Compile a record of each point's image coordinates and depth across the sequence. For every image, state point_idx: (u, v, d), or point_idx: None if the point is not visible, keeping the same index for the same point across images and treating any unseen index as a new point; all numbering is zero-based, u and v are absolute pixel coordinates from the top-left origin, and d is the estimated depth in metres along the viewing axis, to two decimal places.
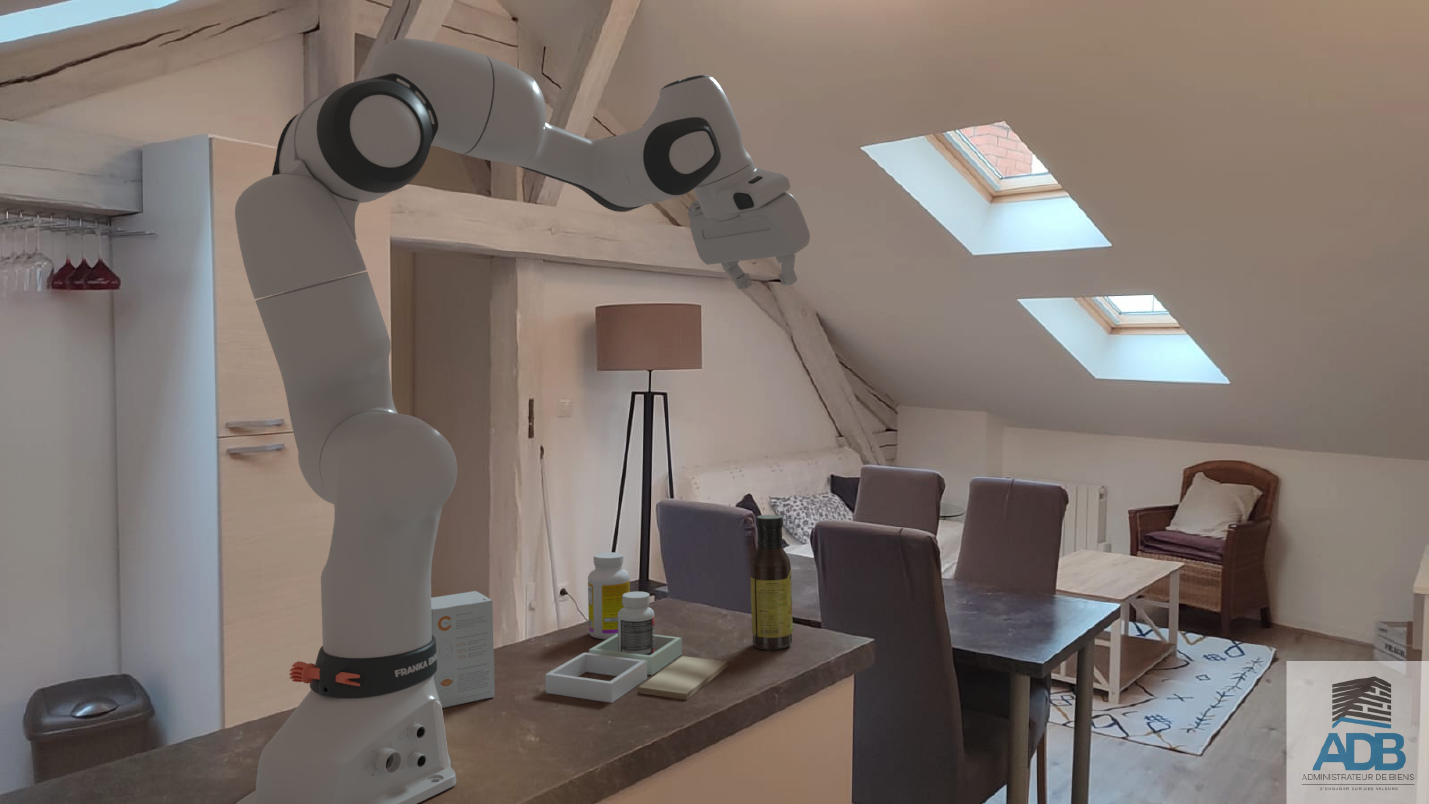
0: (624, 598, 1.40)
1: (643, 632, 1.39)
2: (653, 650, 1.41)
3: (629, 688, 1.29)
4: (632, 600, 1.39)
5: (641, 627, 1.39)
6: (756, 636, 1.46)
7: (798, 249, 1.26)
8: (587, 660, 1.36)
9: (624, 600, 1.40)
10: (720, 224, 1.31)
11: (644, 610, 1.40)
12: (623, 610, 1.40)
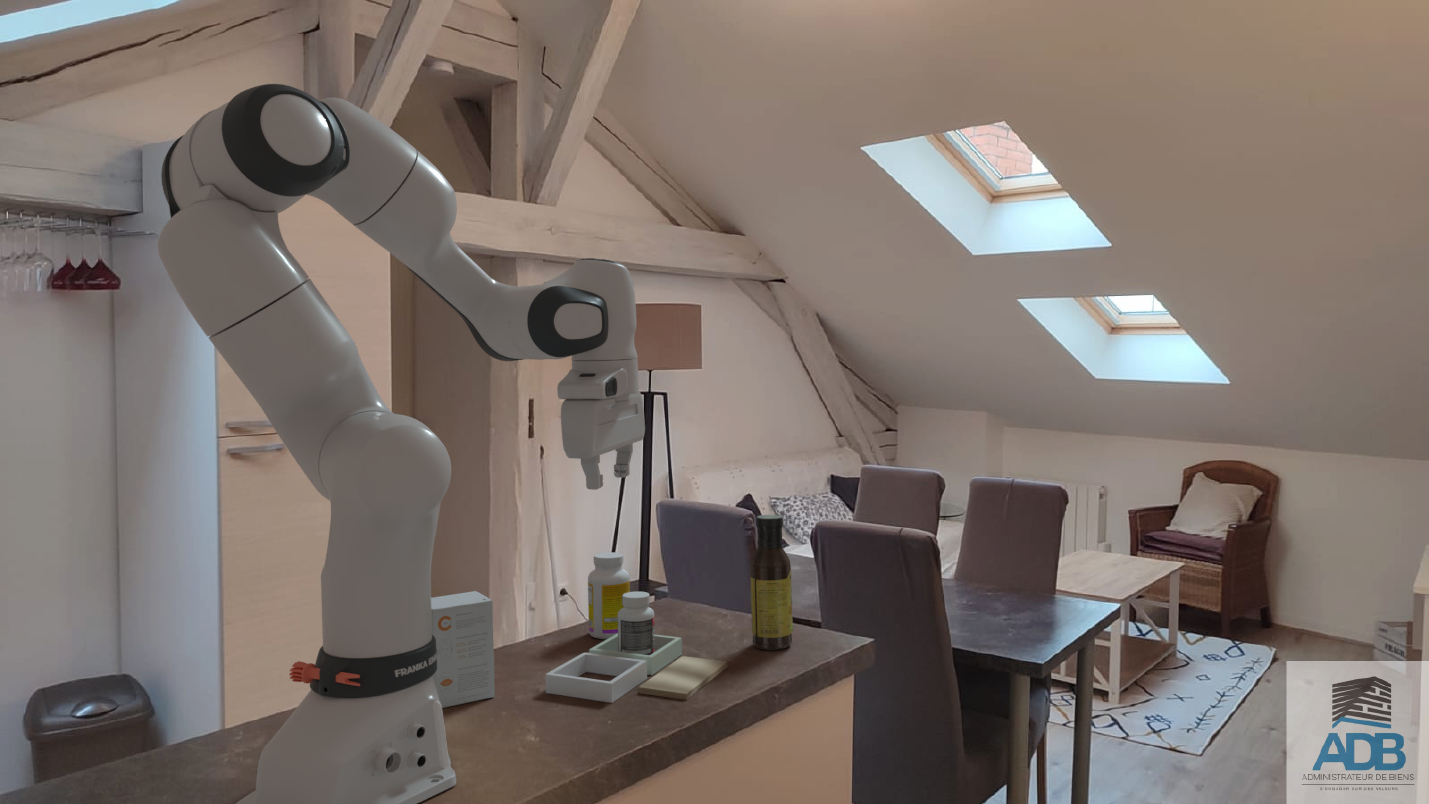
0: (624, 598, 1.40)
1: (643, 632, 1.39)
2: (653, 650, 1.41)
3: (629, 688, 1.29)
4: (632, 600, 1.39)
5: (641, 627, 1.39)
6: (756, 636, 1.46)
7: (571, 455, 1.22)
8: (587, 660, 1.36)
9: (624, 600, 1.40)
10: None
11: (644, 610, 1.40)
12: (623, 610, 1.40)
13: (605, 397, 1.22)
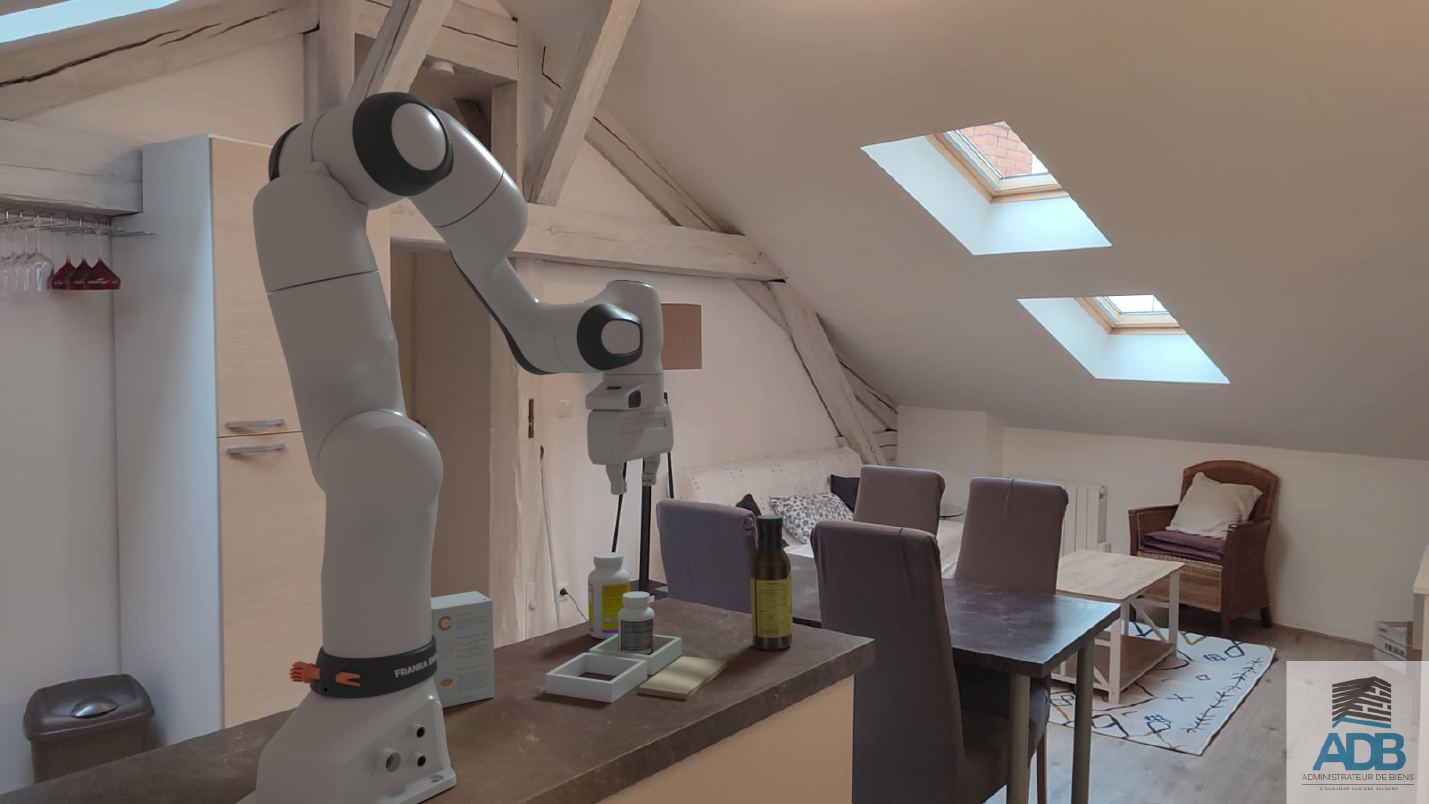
0: (624, 598, 1.40)
1: (643, 632, 1.39)
2: (653, 650, 1.41)
3: (629, 688, 1.29)
4: (632, 600, 1.39)
5: (641, 627, 1.39)
6: (756, 636, 1.46)
7: (595, 462, 1.31)
8: (587, 660, 1.36)
9: (624, 600, 1.40)
10: None
11: (644, 610, 1.40)
12: (623, 610, 1.40)
13: (628, 408, 1.31)
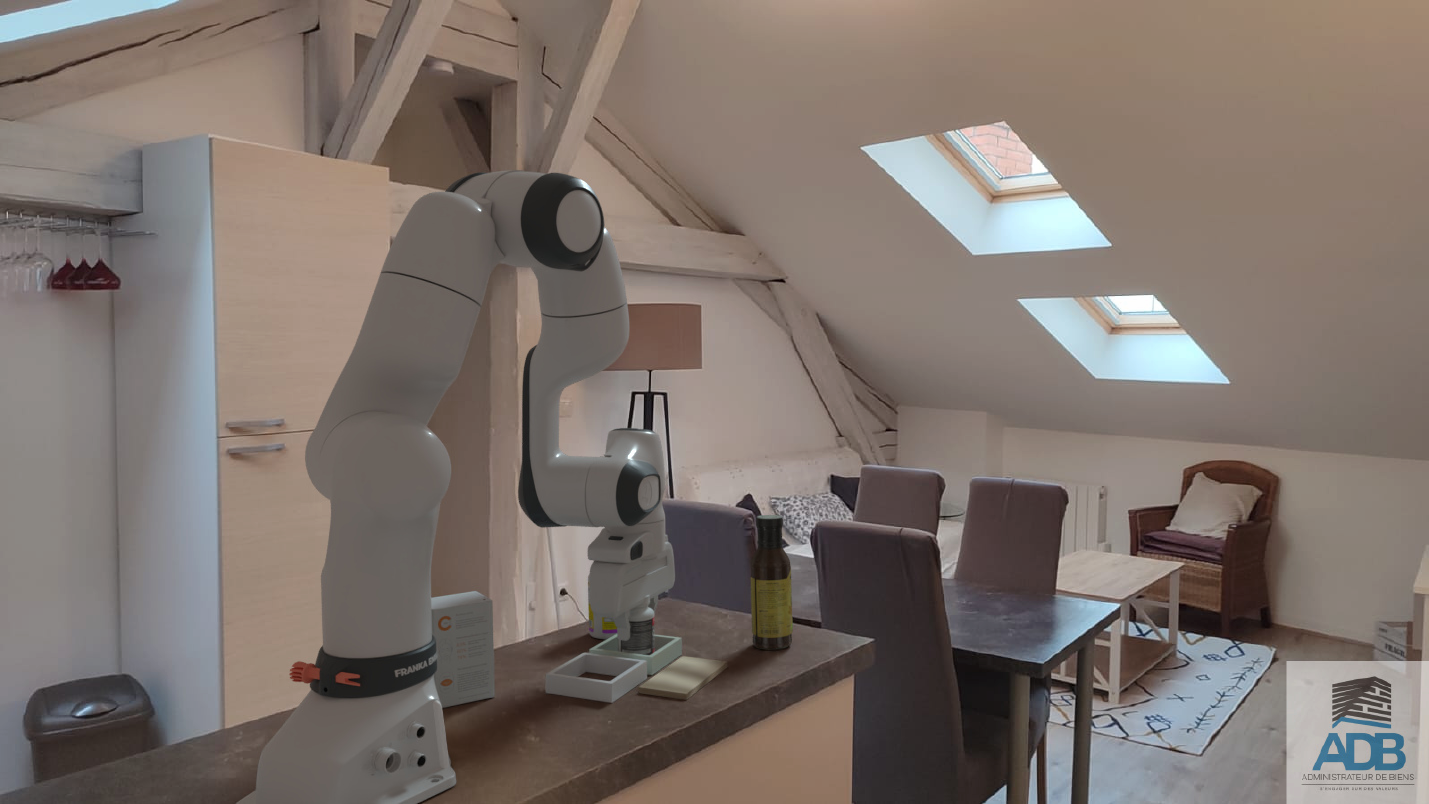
0: None
1: (643, 632, 1.39)
2: (653, 650, 1.41)
3: (629, 688, 1.29)
4: None
5: (641, 627, 1.39)
6: (756, 636, 1.46)
7: (597, 614, 1.32)
8: (587, 660, 1.36)
9: None
10: None
11: (644, 610, 1.40)
12: None
13: (630, 561, 1.32)
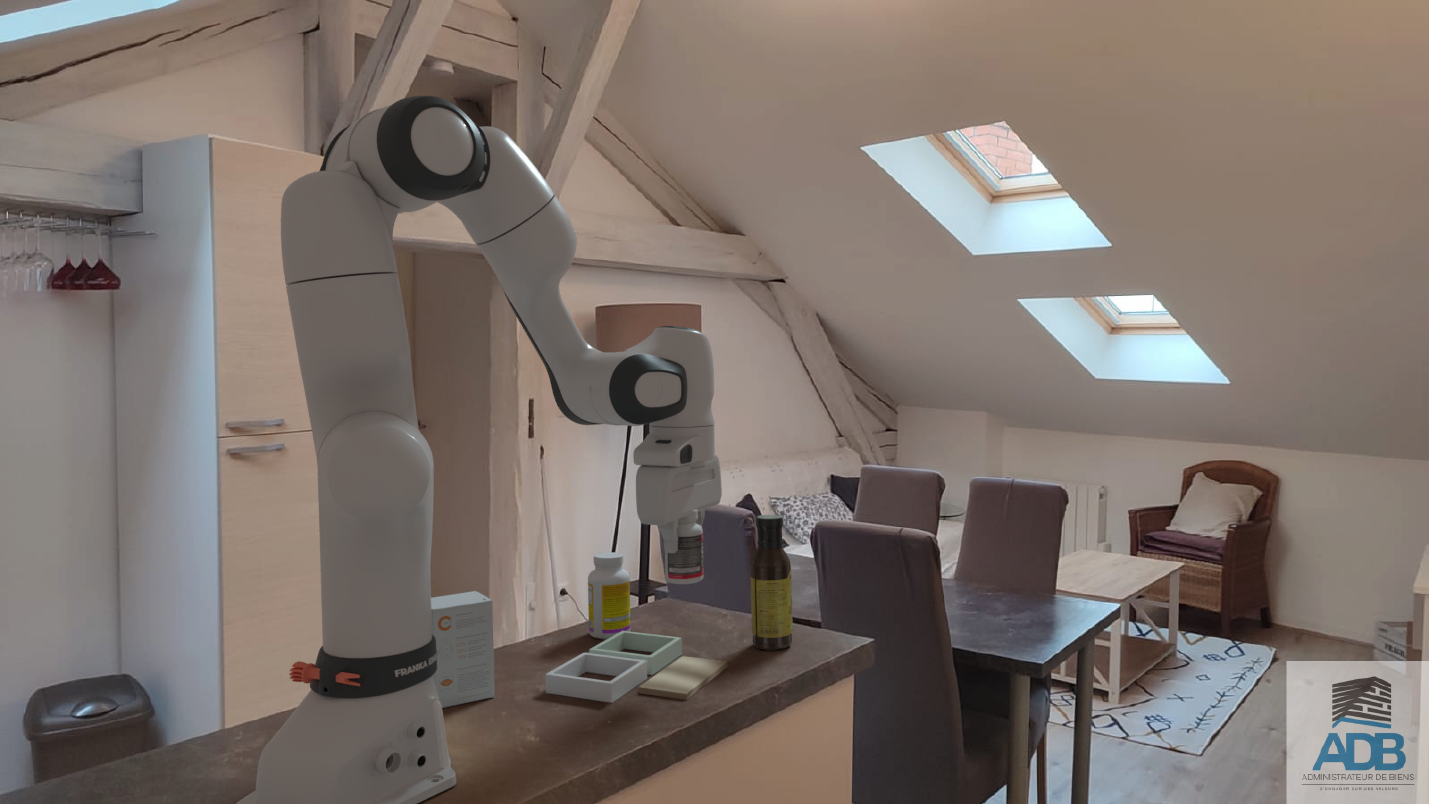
0: None
1: (692, 548, 1.30)
2: (702, 568, 1.31)
3: (629, 688, 1.29)
4: None
5: (690, 543, 1.29)
6: (756, 636, 1.46)
7: (645, 521, 1.23)
8: (587, 660, 1.36)
9: None
10: None
11: (692, 525, 1.31)
12: None
13: (679, 464, 1.23)
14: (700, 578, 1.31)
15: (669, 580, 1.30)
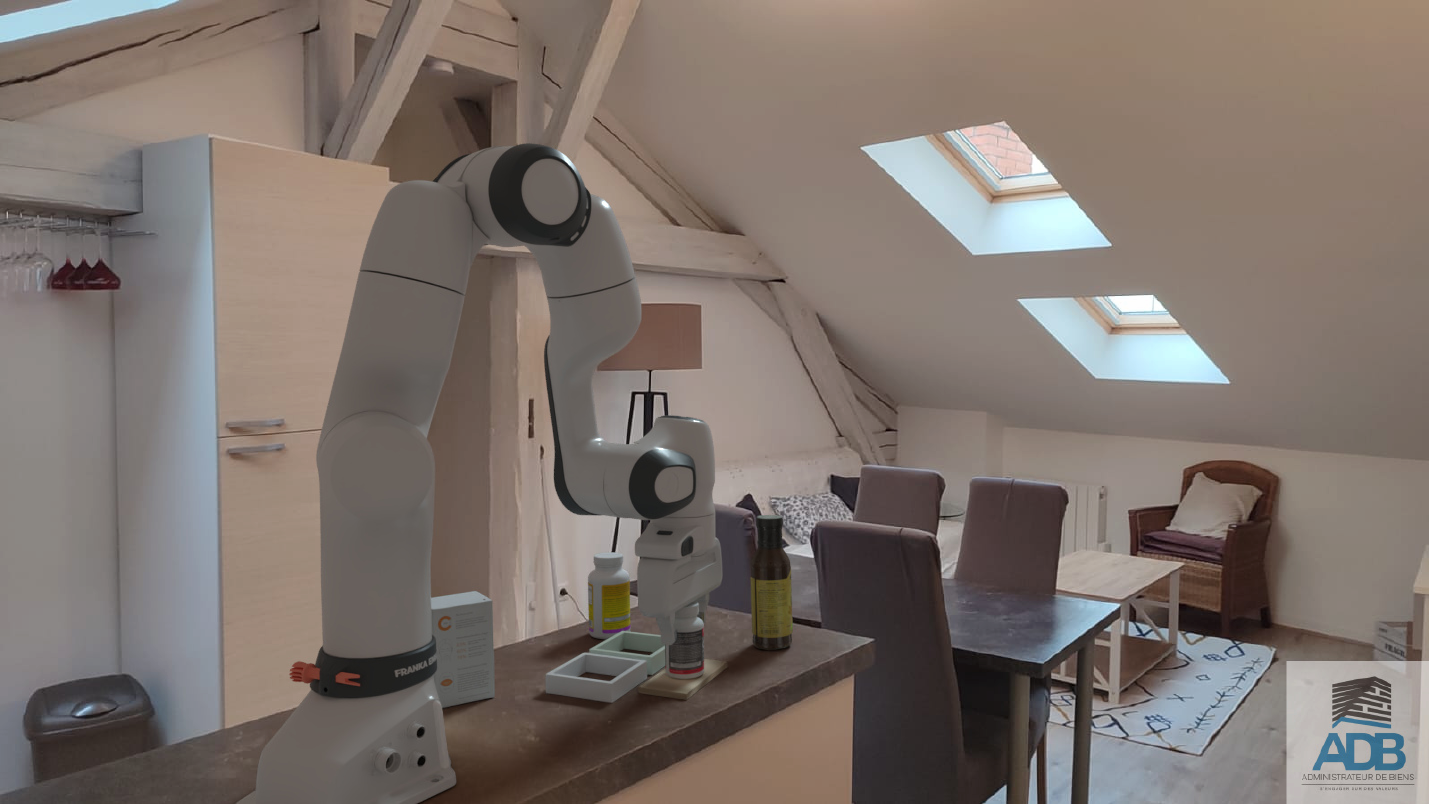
0: None
1: (693, 643, 1.30)
2: (703, 663, 1.32)
3: (629, 688, 1.29)
4: (681, 610, 1.31)
5: (691, 639, 1.30)
6: (756, 636, 1.46)
7: (646, 614, 1.24)
8: (587, 660, 1.36)
9: None
10: None
11: (694, 620, 1.31)
12: None
13: (681, 557, 1.24)
14: (701, 672, 1.31)
15: (671, 675, 1.31)
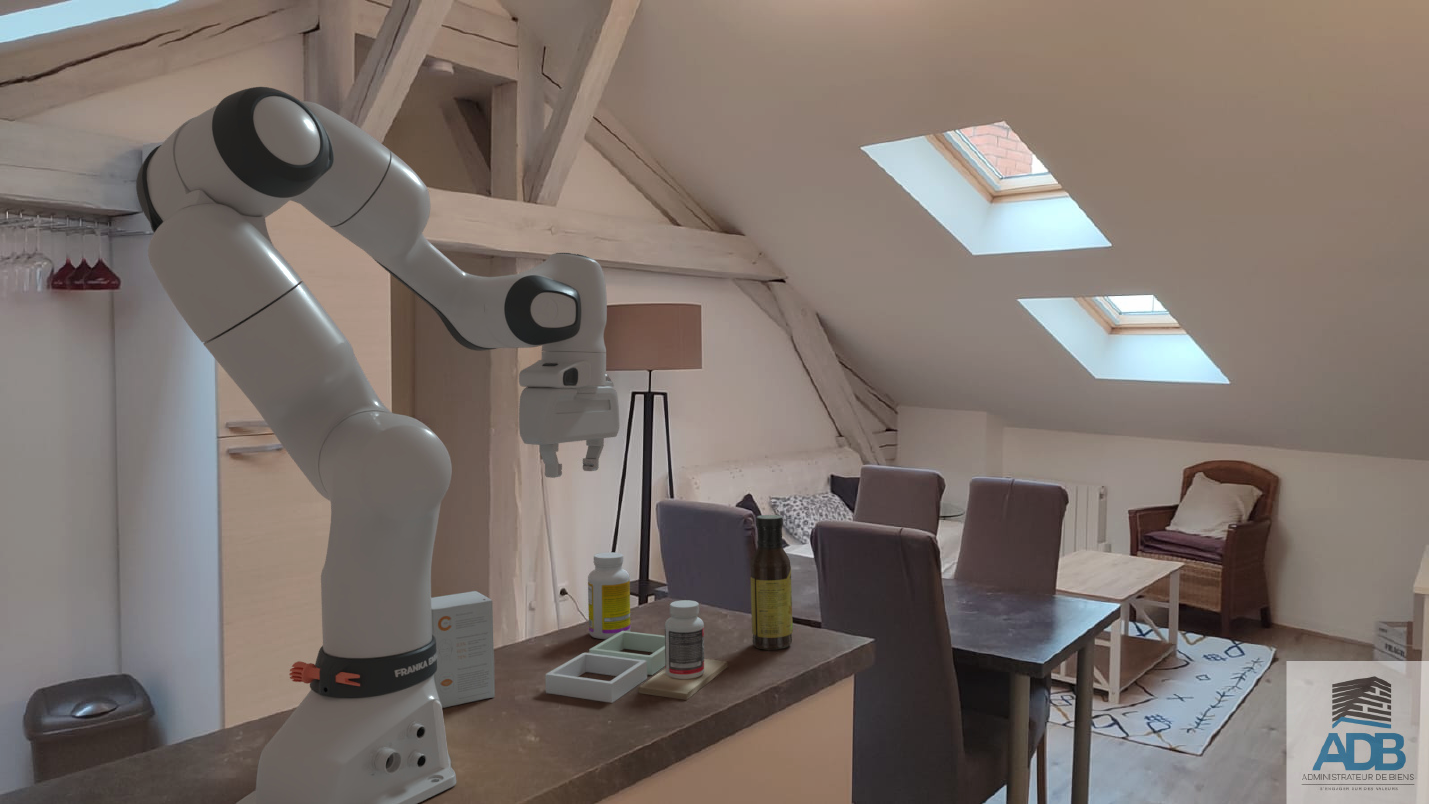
0: (672, 608, 1.31)
1: (693, 643, 1.30)
2: (703, 663, 1.32)
3: (629, 688, 1.29)
4: (681, 610, 1.30)
5: (691, 639, 1.30)
6: (756, 636, 1.46)
7: (526, 441, 1.25)
8: (587, 660, 1.36)
9: (672, 610, 1.31)
10: None
11: (694, 620, 1.31)
12: (671, 620, 1.32)
13: (562, 386, 1.25)
14: (701, 673, 1.31)
15: (670, 675, 1.31)
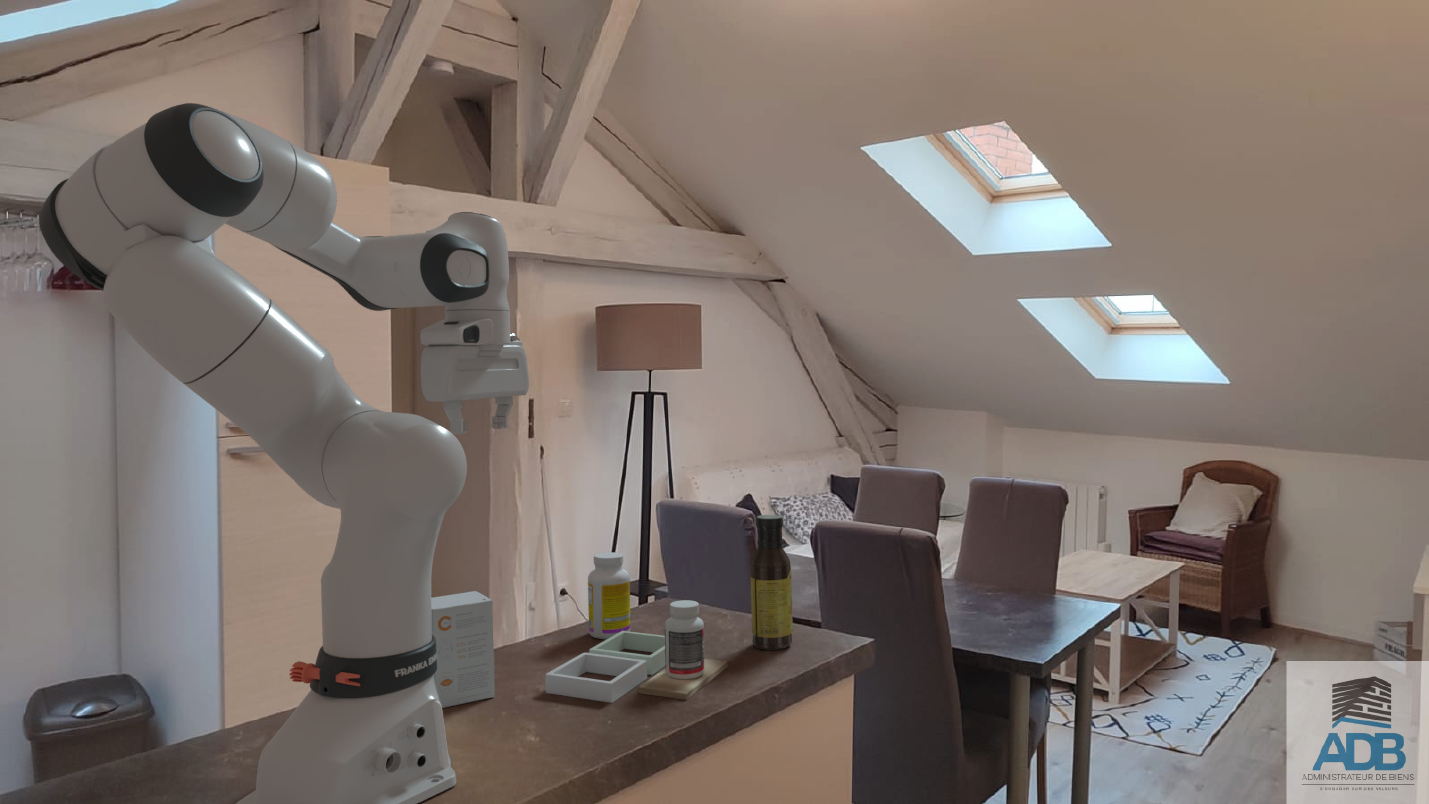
0: (672, 608, 1.31)
1: (693, 643, 1.30)
2: (703, 663, 1.32)
3: (629, 688, 1.29)
4: (681, 610, 1.30)
5: (691, 639, 1.30)
6: (756, 636, 1.46)
7: (429, 398, 1.27)
8: (587, 660, 1.36)
9: (672, 610, 1.31)
10: None
11: (694, 620, 1.31)
12: (671, 620, 1.32)
13: (463, 343, 1.27)
14: (701, 673, 1.31)
15: (670, 675, 1.31)
